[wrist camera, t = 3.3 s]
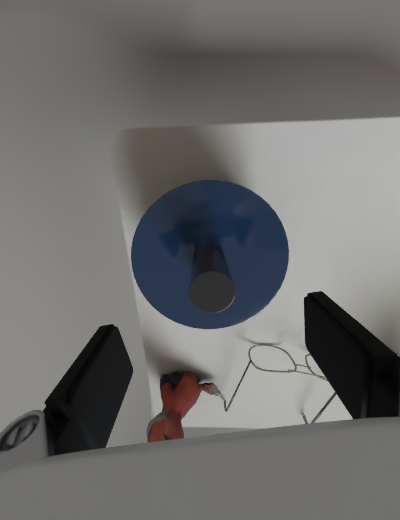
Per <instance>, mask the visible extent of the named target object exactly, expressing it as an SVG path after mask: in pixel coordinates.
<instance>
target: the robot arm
mask: <svg viewBox="0 0 400 520" xmlns="http://www.w3.org/2000/svg"><path fill="white" fill-rule="evenodd" d="M304 317H305V344H306V347H307V349H308V351H309V353H310V354H311V356H312V357H313V359H314V360H315V362H316V363H317V365H318V366H319V368H320V369H321V371H322V372H323V374H324V375H325V377H326V378H327V380H328V381H329V383H330V384H331V386H332V387H333V389H334V390H335V392H336V393H337V395H338V396H339V398H340V399H341V401H342V403H343V404H344V406H345V407H346V409H347V410H348V412H349V413H350V415H351V416H352V418H353V419H352V420H341V421H331V422H320V423H311V424H302V425H293V426H284V427H275V428H266V429H257V430H249V431H240V432H232V433H223V434H215V435H206V436H198V437H190V438H181V439H173V440H164V441H156V442H148V443H140V444H132V445H125V446H117V447H109V448H106V445H107V442H108V439H109V437H110V434H111V431H112V429H113V426H114V423H115V420H116V418H117V415H118V412H119V410H120V407H121V404H122V401H123V399H124V396H125V393H126V391H127V388H128V385H129V383H130V380H131V377H132V374H133V367H132V365H131V361H130V359H129V356H128V353H127V351H126V348H125V345H124V343H123V340H122V337H121V335H120V332H119V329H118V328H117V327H115V326H114V325H113V324H110V325H105V326H100V327H99V329H98V330H97V331H96V333H95V334H94V335H93V337H92V338H91V339H90V341H89V342H88V344H87V345H86V346H85V348H84V349H83V350H82V352H81V353H80V354H79V356H78V357H77V359H76V360H75V361H74V363H73V364H72V365H71V367H70V368H69V370H68V371H67V372H66V374H65V375H64V376H63V378H62V379H61V380H60V382H59V383H58V385H57V386H56V387H55V389H54V390H53V391H52V393H51V394H50V396H49V397H48V398H47V400H46V401H45V404H46V407H45V409H44V410H43V411H41V410H33V411H30V412H27V413H25V414H24V415H22V416H20V417H18V418H17V419H16V420H14V421H13V422H12V423H10V424H9V425H8V426H7V427H6V428H5V429H4V430H3V431H2V432H1V434H0V520H400V357H399V356H398V355H397V354H395V353H394V352H393V351H392V350H391V349H389V348H388V347H387V346H386V345H385V344H384V343H382V342H381V341H380V340H379V339H378V338H377V337H375V336H374V335H373V334H372V333H371V332H369V331H368V330H367V329H366V328H365V327H364V326H362V325H361V324H360V323H359V322H358V321H357V320H355V319H354V318H353V317H351V316H350V315H349V314H348V313H347V312H346V311H344V310H343V309H342V308H341V307H340V306H339V305H337V304H336V303H335V302H334V301H333V300H331V299H330V298H329V297H328V296H327V295H326V294H324V293H323V292H322V291H319V292H313V293H308V295H307V297H305V298H304Z"/></svg>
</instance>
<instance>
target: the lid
mask: <svg viewBox="0 0 400 520" xmlns="http://www.w3.org/2000/svg"><path fill="white" fill-rule="evenodd" d="M288 258H289V249H288V240H287V237H286V233H285V230H284V227H283V225H282V223H281V221H280V219H279V217H278V216H277V214H276V213H275V211H274V210H273V209H272V208H271V206H270V205H269V204H268V203H267V202H266V201H265V200H263V199H262V198H261V197H260V196H258V195H257V194H255V193H254V192H252V191H251V190H249V189H247V188H245V187H242V186H240V185H237V184H234V183H230V182H225V181H218V180H204V181H196V182H192V183H188V184H184V185H182V186H179V187H177V188H175V189H172V190H171V191H169V192H168V193H166V194H164V195H163V196H161V197H160V198H159V199H158V200H157V201H155V202H154V203H153V204H152V205H151V207H150V208H149V209H148V210H147V211H146V213H145V214H144V216H143V217H142V218H141V220H140V222H139V224H138V226H137V228H136V231H135V234H134V237H133V242H132V248H131V261H132V269H133V273H134V277H135V279H136V282H137V285H138V287H139V288H140V290H141V292H142V294H143V295H144V297H145V298H146V299H147V301H148V302H149V303H150V304H151V305H152V306H153V307H154V308H155V309H156V310H157V311H159V312H160V313H161V314H163V315H164V316H166V317H167V318H169V319H171V320H173V321H175V322H177V323H180V324H182V325H185V326H189V327H193V328H201V329H217V328H224V327H229V326H233V325H236V324H239V323H241V322H243V321H246V320H248V319H249V318H251V317H253V316H254V315H256V314H257V313H259V312H260V311H261V310H263V309H264V308H265V307H266V306H267V305H268V304H269V303H270V301H271V300H272V299H273V298H274V297H275V295H276V294H277V292H278V290H279V289H280V287H281V285H282V283H283V280H284V278H285V274H286V271H287V266H288Z"/></svg>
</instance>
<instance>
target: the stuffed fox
mask: <svg viewBox="0 0 400 520" xmlns="http://www.w3.org/2000/svg"><path fill="white" fill-rule="evenodd" d="M205 385H207V386H205ZM160 391H161V398H162V401H163V408H162V412H161V413H159V414H158V415H157V416H156V417H155V418H154V419H152V420H151V421H150V423H149V424H148V427H147V438H148V442H156V441H164V440H173V439H181V438H184V434H183V429H182V425H181V420H182V418H183V417H184V416H185V415H186V413H187V412H188V411H189V410H190V408H191V407H192V406H193V405H194V404H195V403H196V401H197V399H198V397H199V395H200V392H201V391H205V392H207V393H209V394H211V395H216V396H218V395H219V394H220V391H219V390H218V388H217V386H216V385H215V384H214V383H212V382H211V383H204V384H199V383H198V381H197V377H196V376H195V374H194V375H193V374H191V373H190V372H184V371H182V372H175V373H174V374H170V375H163V377H162V378H161V379H160Z"/></svg>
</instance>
